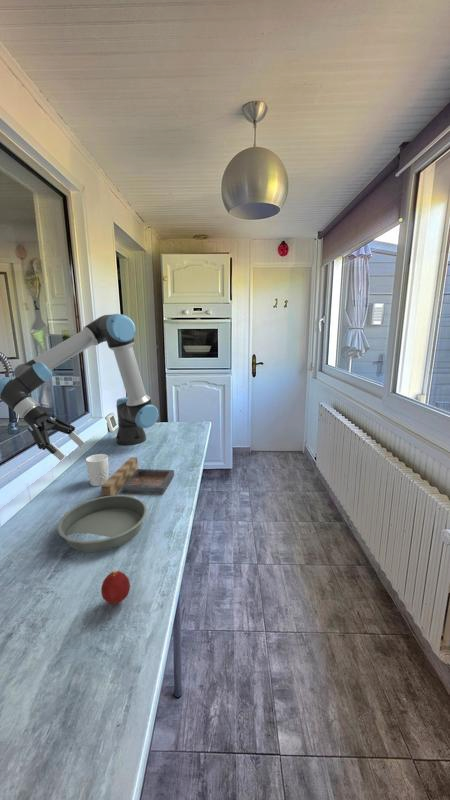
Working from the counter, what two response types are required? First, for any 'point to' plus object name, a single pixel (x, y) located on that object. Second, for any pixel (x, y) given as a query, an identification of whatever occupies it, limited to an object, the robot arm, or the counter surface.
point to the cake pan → (103, 522)
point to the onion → (115, 587)
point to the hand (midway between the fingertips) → (73, 451)
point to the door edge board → (119, 477)
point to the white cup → (98, 469)
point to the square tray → (149, 481)
